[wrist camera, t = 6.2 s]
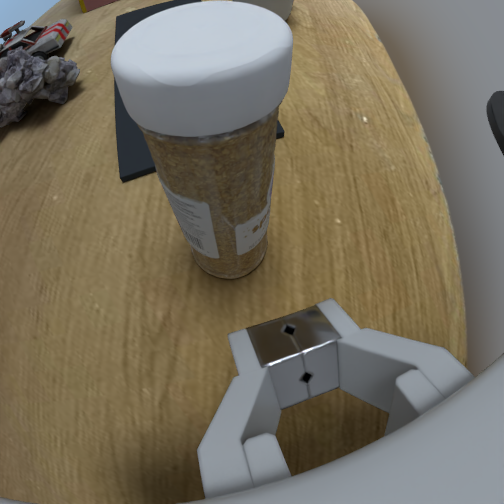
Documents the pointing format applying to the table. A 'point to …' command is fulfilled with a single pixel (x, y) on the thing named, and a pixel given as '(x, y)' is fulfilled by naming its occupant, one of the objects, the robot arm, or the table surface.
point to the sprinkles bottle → (210, 120)
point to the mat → (127, 131)
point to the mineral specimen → (32, 82)
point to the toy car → (35, 39)
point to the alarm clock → (93, 4)
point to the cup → (273, 6)
